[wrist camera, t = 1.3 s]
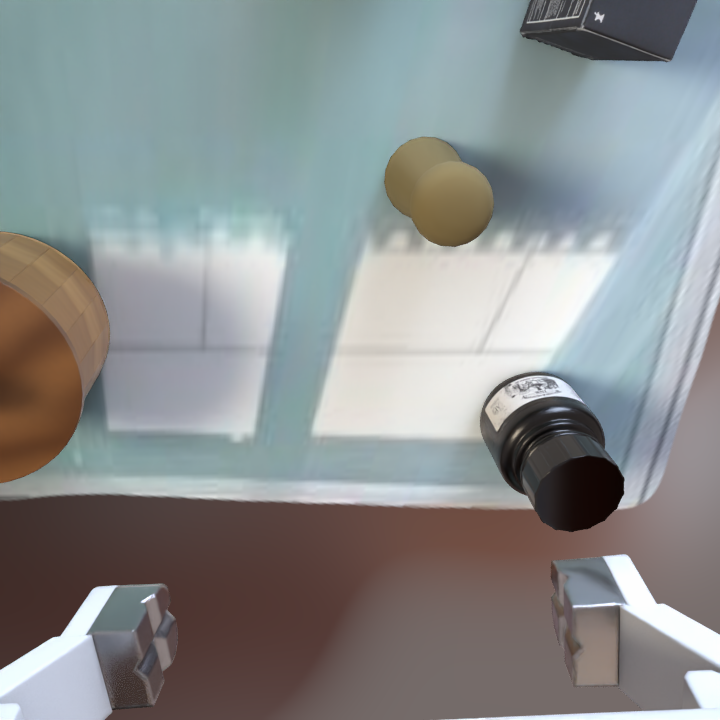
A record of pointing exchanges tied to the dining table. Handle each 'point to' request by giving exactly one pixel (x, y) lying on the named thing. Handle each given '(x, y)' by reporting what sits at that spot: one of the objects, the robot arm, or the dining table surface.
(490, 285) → the dining table surface
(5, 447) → the lid
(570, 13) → the small box
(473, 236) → the tan pawn
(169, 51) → the dining table surface
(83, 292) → the round wooden box
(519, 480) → the ink bottle
